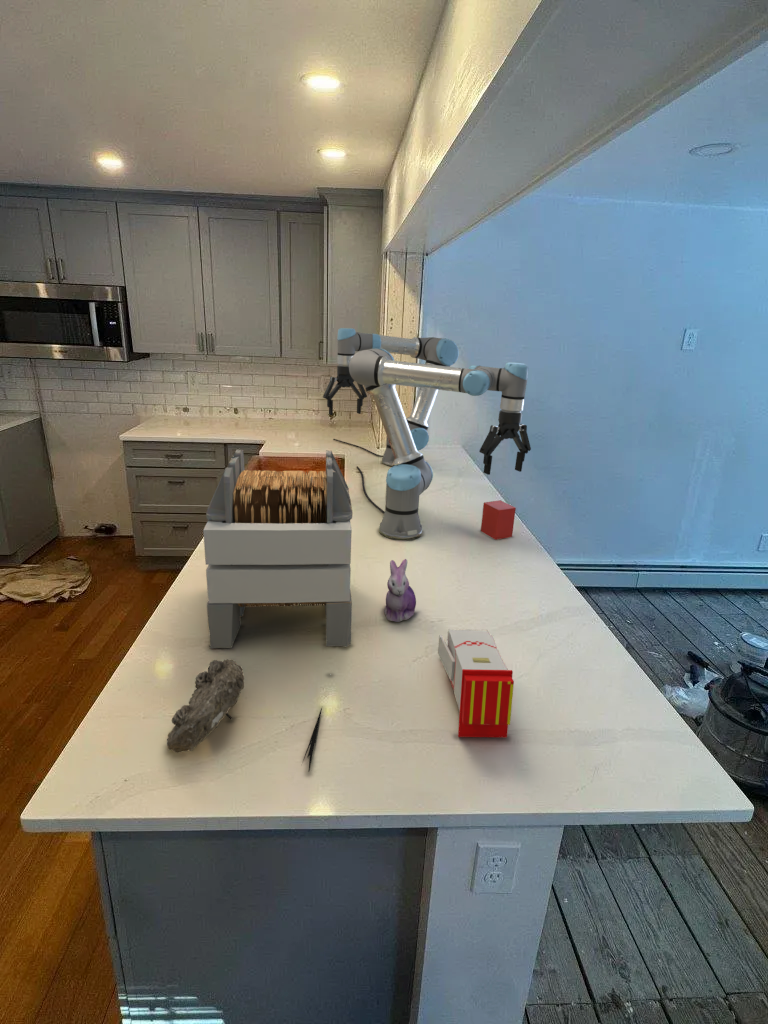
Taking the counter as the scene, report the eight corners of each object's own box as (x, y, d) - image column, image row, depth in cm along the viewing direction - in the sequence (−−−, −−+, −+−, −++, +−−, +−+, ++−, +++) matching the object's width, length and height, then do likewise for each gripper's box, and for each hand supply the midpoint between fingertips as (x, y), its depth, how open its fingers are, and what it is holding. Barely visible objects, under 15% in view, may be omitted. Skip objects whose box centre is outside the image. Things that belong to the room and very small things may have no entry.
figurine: (392, 627, 141) (395, 572, 136) (374, 608, 149) (376, 556, 144) (425, 619, 145) (429, 566, 140) (405, 601, 154) (408, 550, 149)
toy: (488, 613, 130) (523, 677, 101) (484, 667, 133) (517, 744, 104) (435, 612, 130) (455, 676, 101) (432, 666, 133) (451, 743, 103)
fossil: (192, 660, 117) (244, 628, 112) (224, 691, 120) (276, 661, 115) (142, 746, 98) (202, 712, 93) (182, 779, 101) (242, 748, 96)
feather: (331, 679, 122) (336, 673, 122) (307, 777, 96) (313, 769, 95) (324, 675, 122) (329, 669, 121) (298, 772, 95) (304, 764, 95)
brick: (512, 536, 202) (515, 507, 198) (495, 539, 199) (498, 510, 195) (497, 528, 209) (500, 500, 205) (480, 531, 206) (483, 502, 202)
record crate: (229, 582, 160) (221, 440, 146) (345, 581, 163) (348, 442, 150) (207, 650, 128) (194, 478, 114) (351, 647, 132) (356, 479, 118)
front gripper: (532, 407, 197) (523, 466, 205) (473, 409, 186) (466, 471, 194) (547, 411, 191) (537, 472, 198) (487, 414, 180) (479, 478, 187)
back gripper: (368, 364, 255) (366, 411, 263) (315, 364, 244) (315, 413, 252) (375, 366, 249) (373, 414, 256) (322, 366, 238) (321, 416, 245)
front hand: (502, 472), depth 196 cm, fingers open, 13 cm apart
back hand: (344, 414), depth 254 cm, fingers open, 13 cm apart
